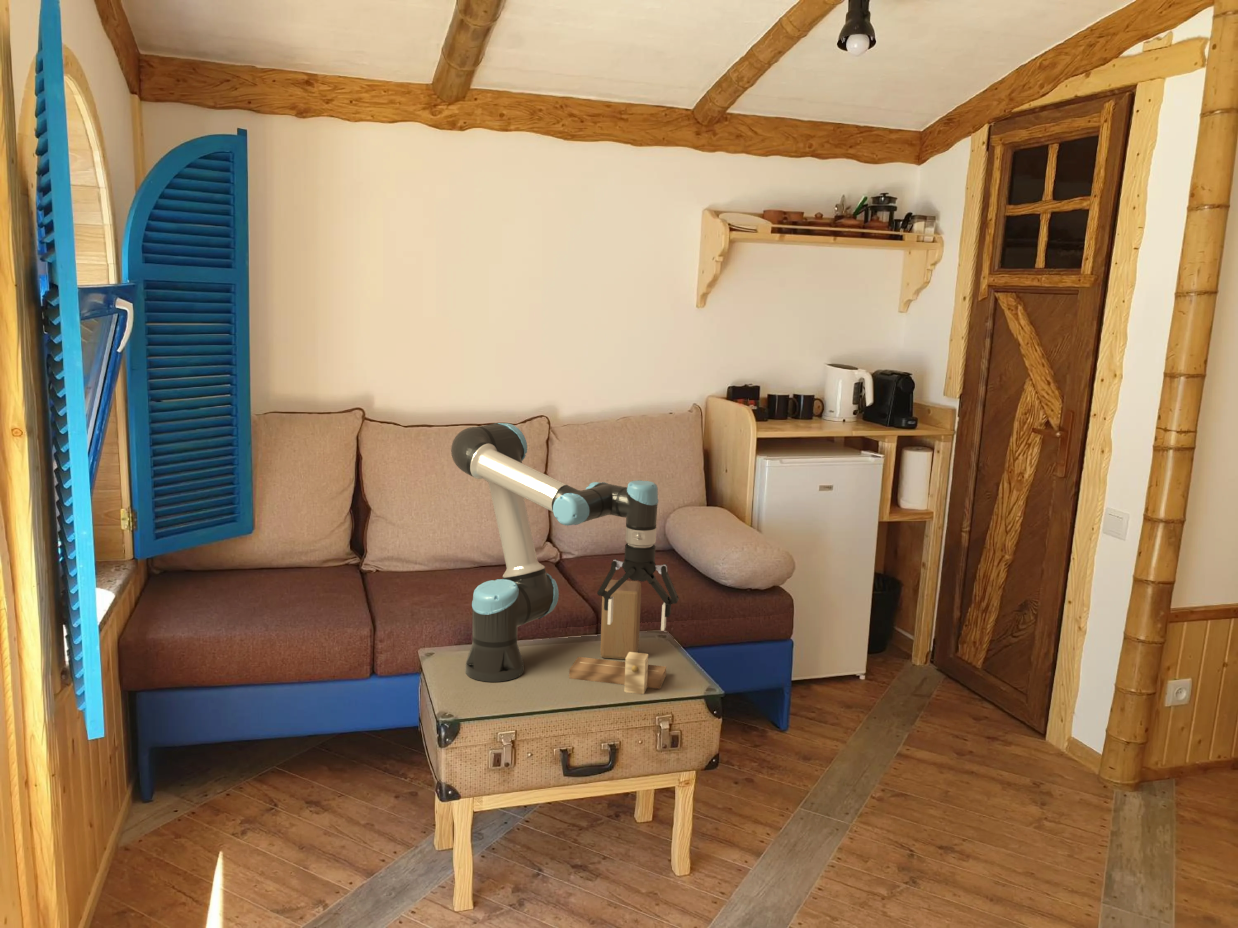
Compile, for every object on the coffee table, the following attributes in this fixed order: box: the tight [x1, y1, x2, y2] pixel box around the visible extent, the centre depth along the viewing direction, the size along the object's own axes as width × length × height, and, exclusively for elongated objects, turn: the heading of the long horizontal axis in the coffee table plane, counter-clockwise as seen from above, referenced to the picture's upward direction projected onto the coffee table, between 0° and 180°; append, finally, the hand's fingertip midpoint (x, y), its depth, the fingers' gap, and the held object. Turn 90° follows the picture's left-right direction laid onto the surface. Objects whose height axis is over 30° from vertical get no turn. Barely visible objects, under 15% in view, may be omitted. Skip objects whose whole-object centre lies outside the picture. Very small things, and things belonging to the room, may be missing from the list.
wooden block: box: [599, 579, 642, 660], centre depth 272 cm, size 10×10×20 cm
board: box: [568, 656, 667, 690], centre depth 257 cm, size 24×9×2 cm, turn 78°
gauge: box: [623, 652, 649, 695], centre depth 253 cm, size 5×14×9 cm, turn 168°
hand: (636, 625), depth 246 cm, fingers open, 13 cm apart
